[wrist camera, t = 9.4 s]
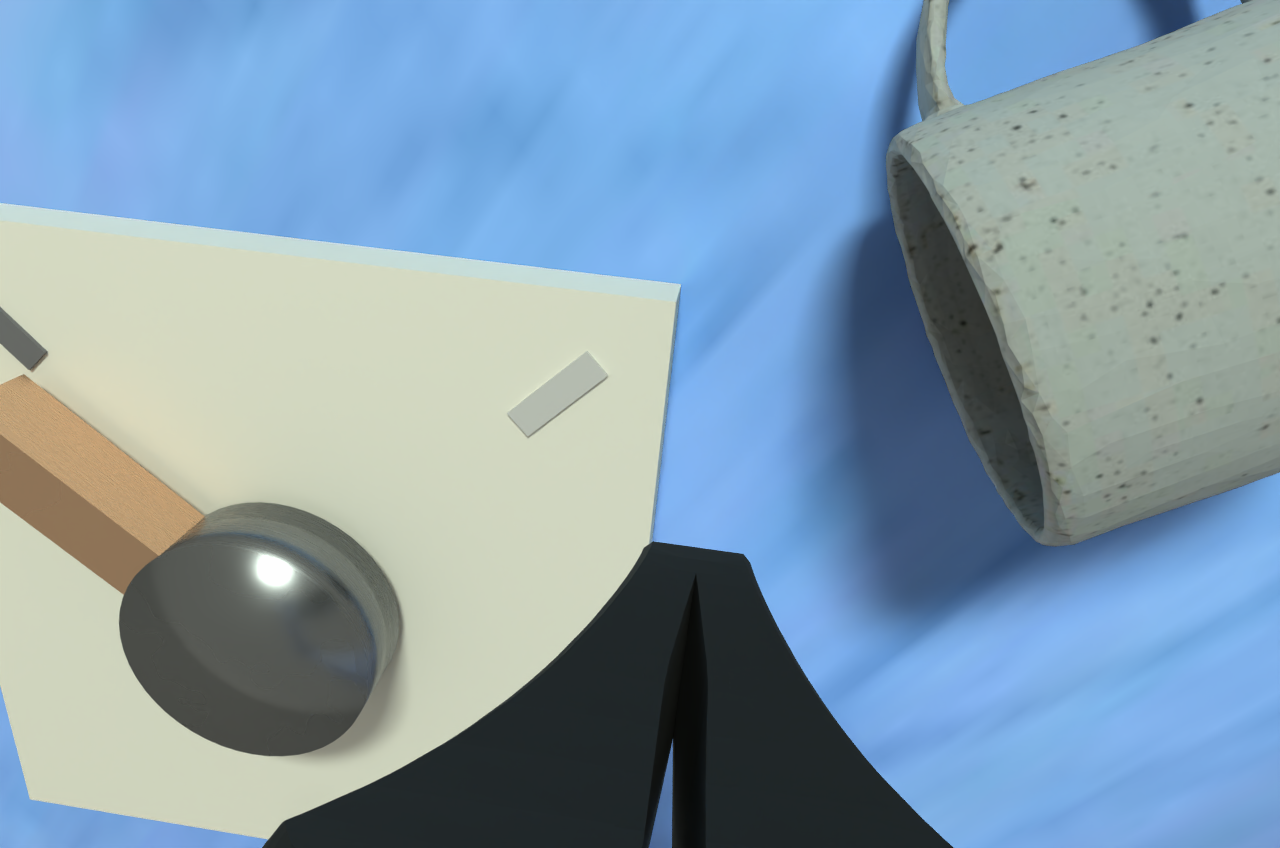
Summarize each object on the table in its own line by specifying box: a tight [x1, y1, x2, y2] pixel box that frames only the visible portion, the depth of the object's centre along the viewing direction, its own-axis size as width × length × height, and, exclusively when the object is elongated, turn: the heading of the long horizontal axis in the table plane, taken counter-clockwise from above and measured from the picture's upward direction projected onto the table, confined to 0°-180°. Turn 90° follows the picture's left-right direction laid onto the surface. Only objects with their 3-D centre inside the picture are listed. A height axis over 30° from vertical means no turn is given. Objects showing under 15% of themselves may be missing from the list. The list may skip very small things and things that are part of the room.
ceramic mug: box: [886, 0, 1280, 546], centre depth 14 cm, size 11×8×8 cm
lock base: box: [0, 203, 681, 839], centre depth 23 cm, size 18×18×2 cm
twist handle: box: [0, 374, 399, 756], centre depth 21 cm, size 11×6×2 cm, turn 46°
